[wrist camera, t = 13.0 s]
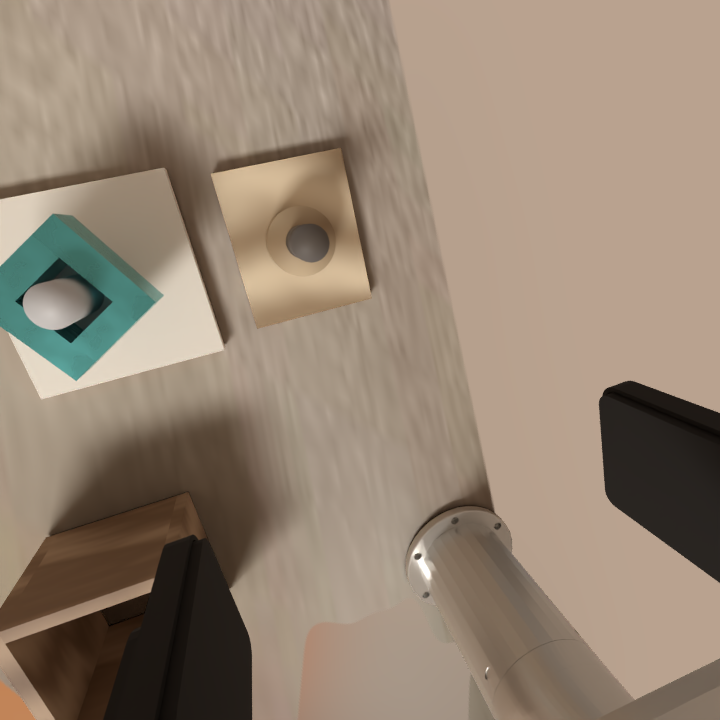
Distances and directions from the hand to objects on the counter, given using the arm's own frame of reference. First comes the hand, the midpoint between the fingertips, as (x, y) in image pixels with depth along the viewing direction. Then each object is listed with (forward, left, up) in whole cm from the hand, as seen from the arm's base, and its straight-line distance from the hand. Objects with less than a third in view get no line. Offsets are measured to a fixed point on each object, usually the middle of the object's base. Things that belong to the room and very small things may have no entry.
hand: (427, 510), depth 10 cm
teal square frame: (+5, +13, -25) cm, 28 cm away
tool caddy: (-20, +19, -30) cm, 41 cm away
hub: (+5, +13, -30) cm, 33 cm away
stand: (+5, -2, -30) cm, 30 cm away
